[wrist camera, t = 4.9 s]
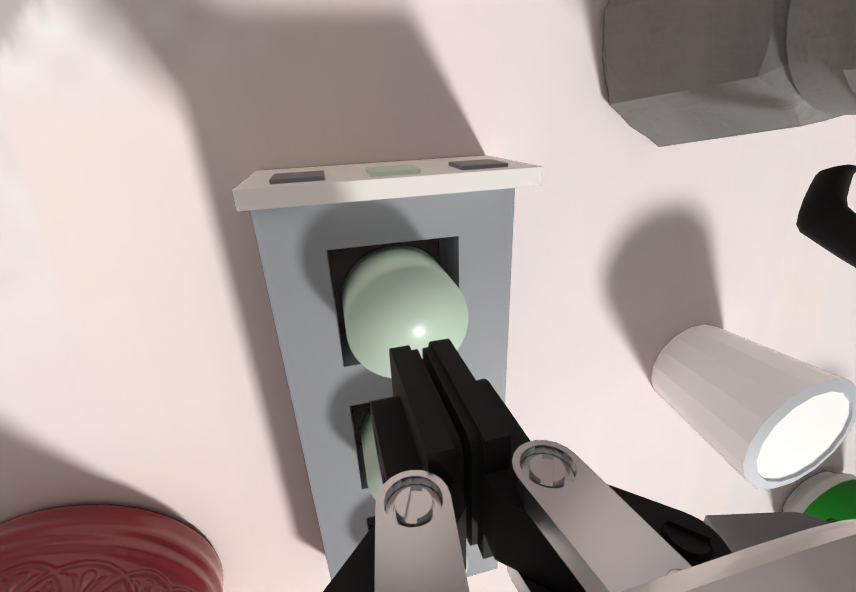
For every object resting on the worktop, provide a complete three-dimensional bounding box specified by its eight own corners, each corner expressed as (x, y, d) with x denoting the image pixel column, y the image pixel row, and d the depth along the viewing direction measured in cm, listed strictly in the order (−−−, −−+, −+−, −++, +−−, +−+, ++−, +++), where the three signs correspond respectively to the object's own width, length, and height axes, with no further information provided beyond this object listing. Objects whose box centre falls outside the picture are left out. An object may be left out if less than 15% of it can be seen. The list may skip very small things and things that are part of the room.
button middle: (355, 399, 18) (361, 443, 16) (448, 381, 19) (468, 420, 17) (365, 470, 20) (372, 520, 18) (450, 452, 21) (468, 496, 18)
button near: (335, 251, 15) (338, 275, 13) (445, 238, 16) (468, 260, 14) (348, 349, 17) (354, 388, 15) (448, 334, 18) (468, 368, 16)
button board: (255, 166, 16) (230, 185, 11) (486, 152, 18) (543, 162, 13) (336, 562, 25) (340, 656, 21) (479, 524, 27) (511, 603, 23)
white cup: (737, 299, 25) (877, 358, 19) (731, 383, 28) (849, 458, 22) (639, 339, 24) (751, 415, 18) (644, 421, 27) (740, 510, 21)
